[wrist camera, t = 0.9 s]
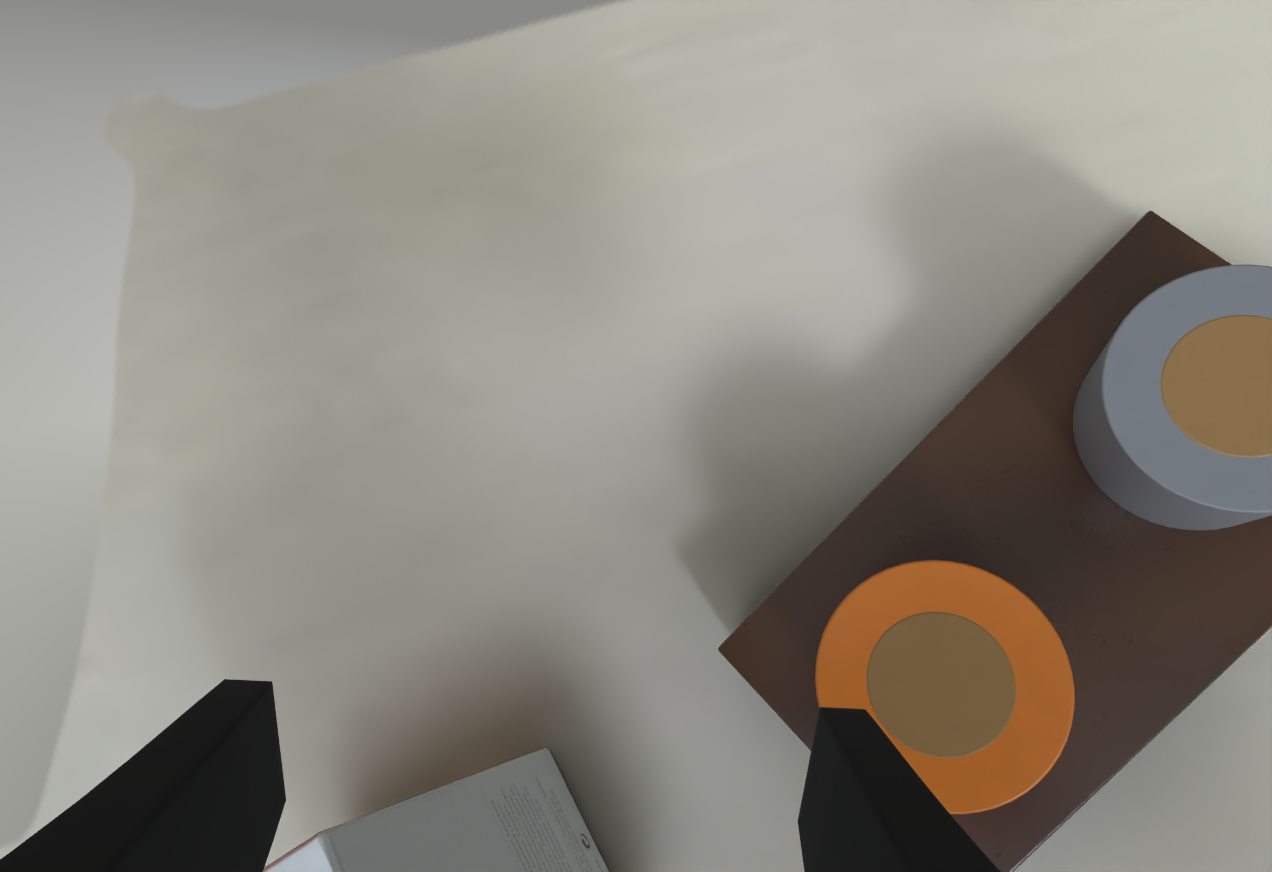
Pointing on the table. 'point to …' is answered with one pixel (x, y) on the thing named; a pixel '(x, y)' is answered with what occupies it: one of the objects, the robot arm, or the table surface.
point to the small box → (463, 829)
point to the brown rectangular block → (1042, 553)
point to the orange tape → (952, 678)
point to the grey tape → (1186, 403)
